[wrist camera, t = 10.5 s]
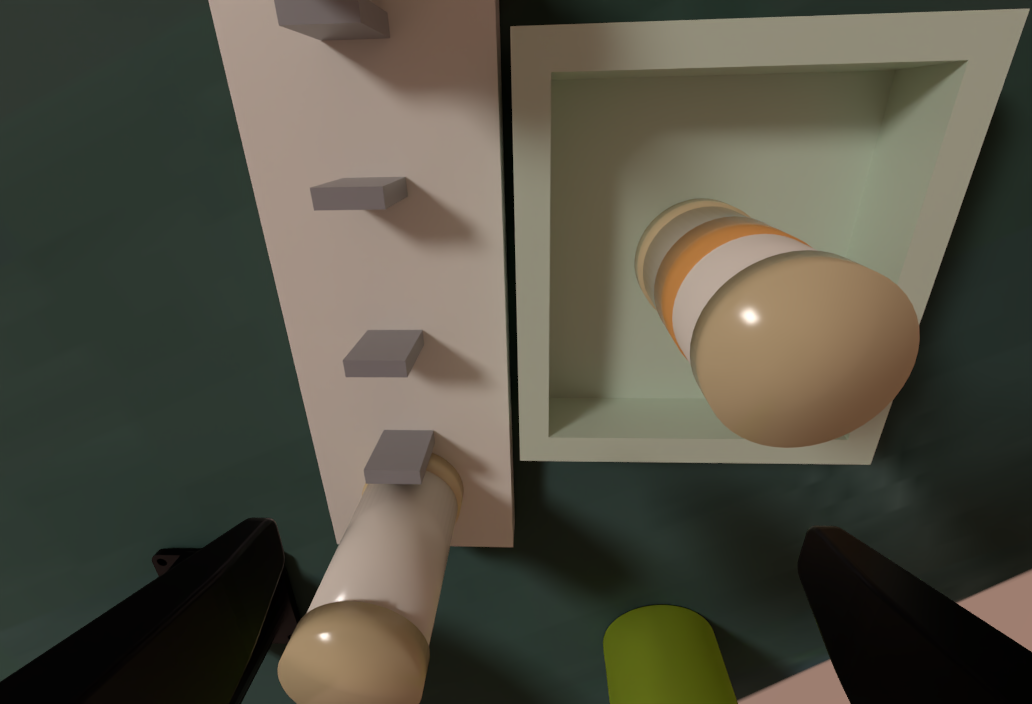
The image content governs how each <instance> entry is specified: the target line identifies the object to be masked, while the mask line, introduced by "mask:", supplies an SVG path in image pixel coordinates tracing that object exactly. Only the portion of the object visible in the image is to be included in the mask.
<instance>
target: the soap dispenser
mask: <svg viewBox="0 0 1032 704" xmlns="http://www.w3.org/2000/svg"><path fill="white" fill-rule="evenodd" d="M603 648H604V657H605V665H606V673H607V682H608V690H609V699H610V704H738V703H737V700H736V697H735V694H734V691H733V688H732V685H731V682H730V679H729V676H728V673H727V670H726V667H725V664H724V661H723V658H722V655H721V652H720V649H719V646H718V643H717V640H716V637H715V634H714V631H713V629H712V627H711V626H710V624H709V623H708V622H707V621H706V620H705V619H704V618H703V617H702V616H700V615H699V614H697V613H695V612H693V611H691V610H689V609H686V608H683V607H678V606H672V605H651V606H645V607H641V608H637V609H634V610H631V611H629V612H627V613H625V614H623V615H621V616H620V617H618V618H617V619H616V620H615V621H614V622H613V623H612V624H611V625H610V626H609V627H608V629H607V630H606V633H605V635H604V639H603Z"/></svg>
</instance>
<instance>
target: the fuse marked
mask: <svg viewBox="0 0 1032 704" xmlns="http://www.w3.org/2000/svg"><path fill="white" fill-rule="evenodd" d="M634 268H635V275H636V278H637V282H638V284H639V286H640V288H641V290H642V292H643V293H644V295H645V297H646V298H647V300H648V302H649V303H650V304H651V305H652V307H653V308H654V309H655V310H656V311H657V312H658V314H659V317H660V319H661V320H662V322H663V324H664V325H665V327H666V329H667V330H668V332H669V334H670V335H671V337H672V339H673V340H674V342H675V344H676V345H677V347H678V349H679V350H680V352H681V353H682V354H683V356H684V357H685V358H686V359H687V360H688V361H689V363H690V364H691V368H692V372H693V376H694V378H695V380H696V383H697V385H698V386H699V388H700V390H701V392H702V393H703V395H704V397H705V398H706V400H707V402H708V403H709V405H710V407H711V408H712V410H713V412H714V413H715V415H716V416H717V418H718V419H719V420H720V421H721V422H722V423H723V424H724V425H725V426H726V427H727V428H728V429H729V430H731V431H732V432H734V433H735V434H737V435H738V436H740V437H742V438H744V439H746V440H749V441H751V442H754V443H757V444H761V445H765V446H771V447H780V448H796V447H805V446H812V445H816V444H820V443H825V442H828V441H831V440H833V439H836V438H839V437H841V436H843V435H846V434H848V433H850V432H852V431H854V430H855V429H857V428H859V427H861V426H862V425H864V424H865V423H867V422H868V421H870V420H871V419H872V418H874V417H875V416H876V415H877V414H879V413H880V412H881V411H882V410H883V409H884V408H885V407H886V406H887V405H888V404H889V403H890V402H891V401H892V400H893V399H894V398H895V397H896V395H897V394H898V393H899V391H900V390H901V389H902V387H903V386H904V384H905V382H906V381H907V379H908V377H909V376H910V373H911V371H912V369H913V366H914V364H915V361H916V357H917V354H918V348H919V340H920V335H919V324H918V319H917V315H916V312H915V310H914V307H913V305H912V303H911V301H910V300H909V298H908V297H907V295H906V294H905V293H904V292H903V290H902V289H901V288H900V287H899V286H898V285H897V284H895V283H894V282H893V281H891V280H890V279H889V278H887V277H885V276H884V275H882V274H880V273H878V272H876V271H874V270H872V269H869V268H867V267H865V266H863V265H861V264H858V263H856V262H854V261H852V260H850V259H847V258H845V257H842V256H840V255H837V254H834V253H829V252H824V251H818V250H816V249H813V248H812V247H811V246H809V245H808V244H807V243H805V242H803V241H802V240H800V239H798V238H796V237H794V236H791V235H789V234H787V233H785V232H783V231H781V230H779V229H776V228H774V227H772V226H770V225H768V224H766V223H764V222H761V221H759V220H756V219H753V218H751V217H750V216H749V215H747V214H746V213H745V212H743V211H741V210H740V209H738V208H736V207H733V206H731V205H729V204H727V203H725V202H722V201H719V200H715V199H708V198H698V199H690V200H686V201H683V202H680V203H677V204H675V205H673V206H671V207H669V208H668V209H666V210H664V211H663V212H662V213H660V214H659V215H658V216H657V217H656V218H655V219H654V220H653V221H652V222H651V223H650V224H649V225H648V227H647V228H646V229H645V231H644V233H643V234H642V236H641V238H640V240H639V243H638V245H637V249H636V253H635V261H634Z"/></svg>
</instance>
